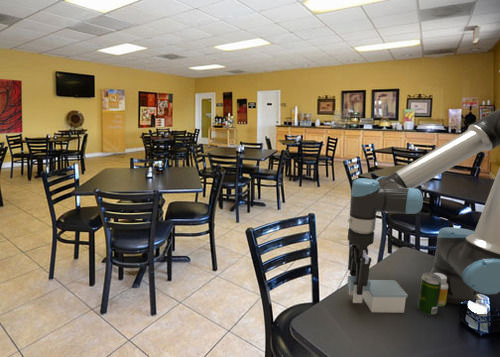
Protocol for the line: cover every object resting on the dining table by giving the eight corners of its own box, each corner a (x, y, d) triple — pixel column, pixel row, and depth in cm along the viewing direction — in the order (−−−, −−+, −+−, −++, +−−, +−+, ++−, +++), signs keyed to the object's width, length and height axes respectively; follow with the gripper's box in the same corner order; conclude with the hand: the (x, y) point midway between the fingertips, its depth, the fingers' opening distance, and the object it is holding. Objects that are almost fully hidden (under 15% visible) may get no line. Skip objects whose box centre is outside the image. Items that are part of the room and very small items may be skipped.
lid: (394, 282, 104) (395, 272, 103) (407, 297, 96) (408, 286, 95) (344, 281, 104) (345, 271, 103) (353, 296, 96) (354, 286, 95)
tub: (392, 299, 105) (394, 282, 104) (403, 314, 97) (405, 296, 96) (362, 298, 105) (364, 282, 104) (371, 313, 97) (373, 296, 96)
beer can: (440, 313, 98) (445, 278, 95) (430, 318, 95) (435, 283, 93) (423, 304, 102) (428, 270, 100) (413, 309, 100) (418, 274, 97)
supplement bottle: (448, 308, 100) (452, 281, 98) (429, 306, 101) (433, 279, 99) (442, 299, 105) (445, 272, 103) (424, 297, 106) (428, 270, 104)
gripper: (341, 220, 104) (336, 284, 109) (358, 240, 87) (351, 314, 92) (364, 220, 104) (358, 284, 109) (385, 240, 87) (377, 314, 92)
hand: (355, 298), depth 100 cm, fingers closed on lid, 3 cm apart
